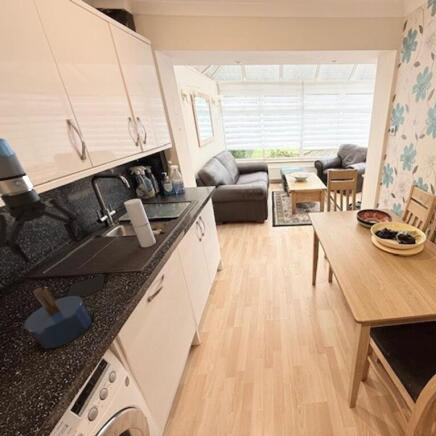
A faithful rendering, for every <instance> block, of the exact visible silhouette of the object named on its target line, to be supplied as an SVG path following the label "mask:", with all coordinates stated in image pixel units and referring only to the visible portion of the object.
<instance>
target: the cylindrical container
mask: <svg viewBox="0 0 436 436" xmlns="http://www.w3.org/2000/svg"><path fill="white" fill-rule="evenodd" d="M123 204H124V208H125V209H126V212H127V215H128V217H129V220H130V222H131V226H132V227H133V230H134V233H135V235H136V237H137V240H138V242H139V245H140V247H141V248H149V247H151V246H153V245H155V244H157V243H156V242H157V241H156V238H155V235H154V232H153V229H152V227H151V225H150V221H149V219H148V217H147V216H148V215H147V214H146V210H145V208H144V205H143V202H142V199H141V198H133V199H128V200H126V201H124V203H123Z"/></svg>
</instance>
